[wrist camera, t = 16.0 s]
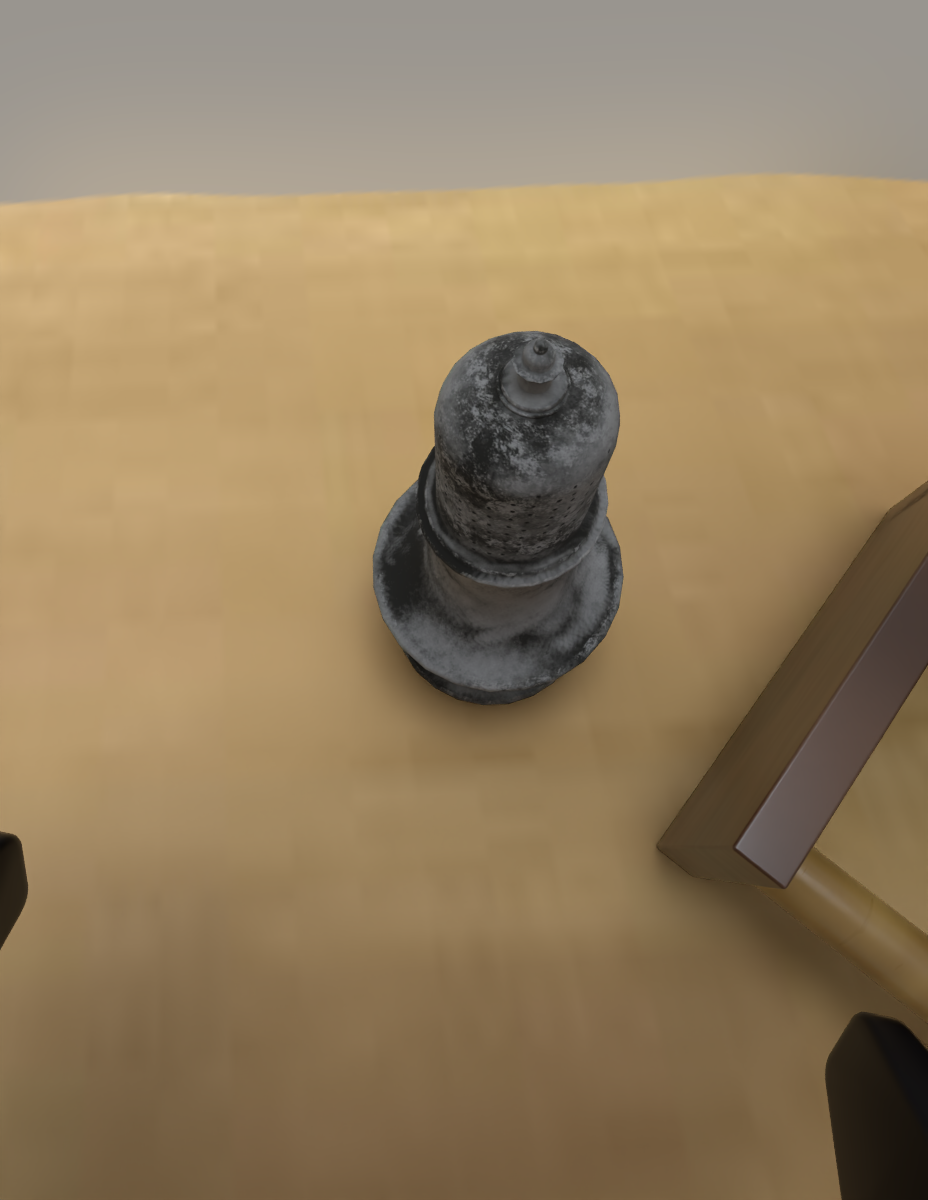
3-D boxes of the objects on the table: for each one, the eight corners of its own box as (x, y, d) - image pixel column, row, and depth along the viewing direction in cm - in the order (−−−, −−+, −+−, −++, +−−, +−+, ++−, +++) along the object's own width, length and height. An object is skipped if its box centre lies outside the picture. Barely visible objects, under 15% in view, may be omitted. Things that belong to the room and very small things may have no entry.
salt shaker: (638, 622, 21) (864, 368, 10) (478, 762, 20) (524, 657, 9) (498, 476, 23) (555, 98, 11) (340, 598, 21) (219, 316, 10)
